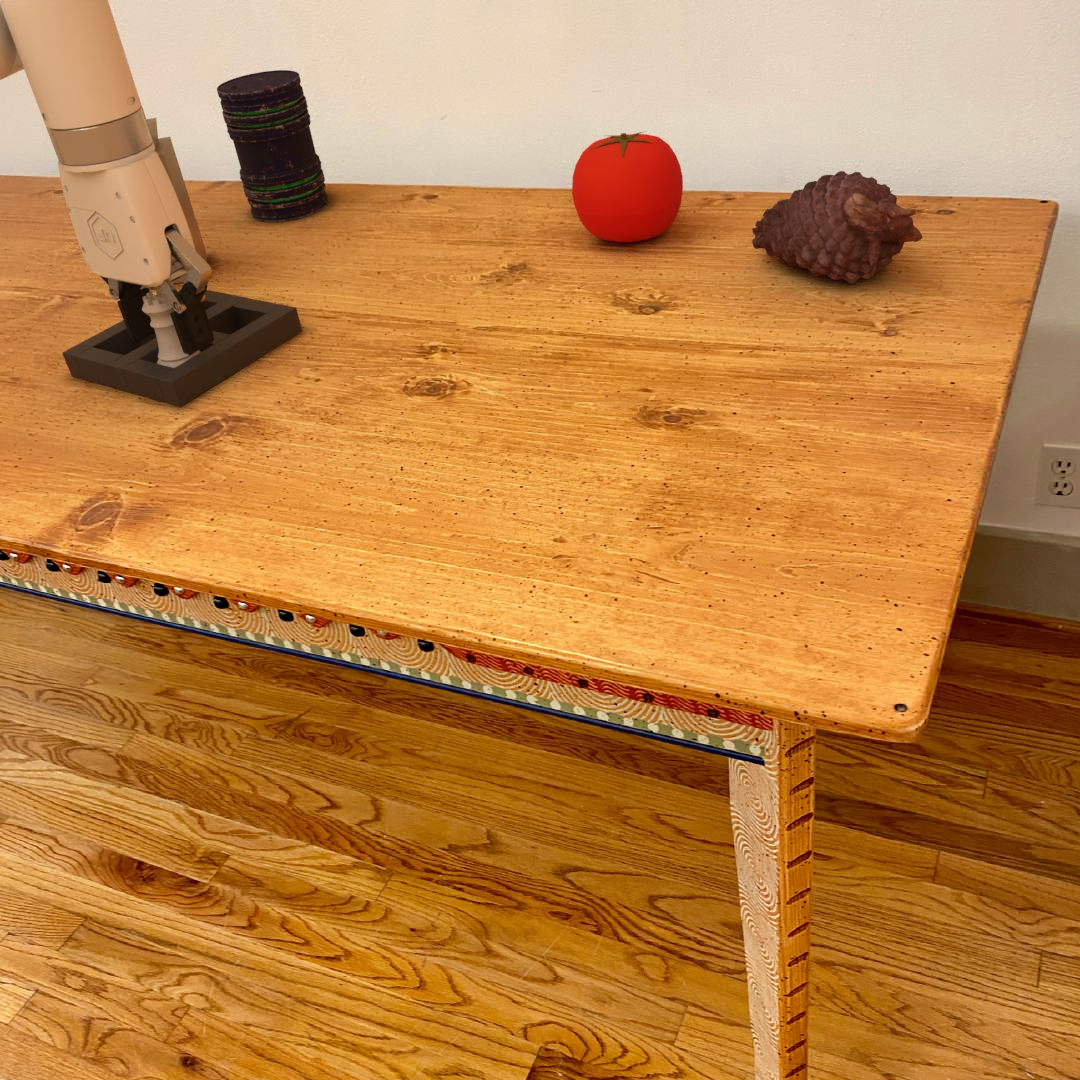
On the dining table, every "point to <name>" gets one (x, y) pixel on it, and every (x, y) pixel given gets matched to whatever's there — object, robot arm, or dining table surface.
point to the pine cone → (837, 227)
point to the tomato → (627, 187)
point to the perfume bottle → (176, 188)
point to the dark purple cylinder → (274, 145)
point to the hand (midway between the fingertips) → (172, 339)
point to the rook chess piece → (165, 330)
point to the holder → (138, 372)
